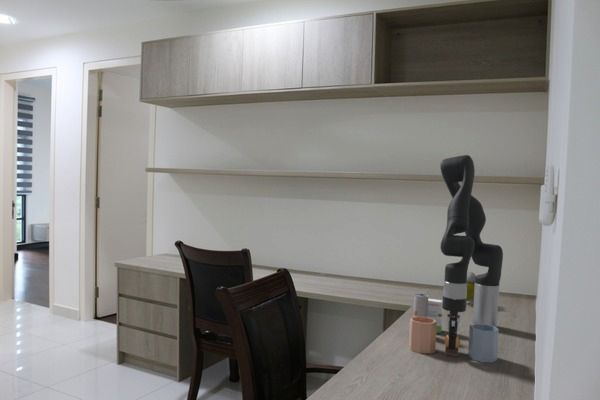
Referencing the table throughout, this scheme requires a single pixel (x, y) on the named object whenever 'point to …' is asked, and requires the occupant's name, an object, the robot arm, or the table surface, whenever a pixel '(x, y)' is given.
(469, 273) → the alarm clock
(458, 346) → the orange ball
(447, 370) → the table surface
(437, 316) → the ink box
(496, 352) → the tube slate
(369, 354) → the table surface
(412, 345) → the tube terracotta
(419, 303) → the beverage can
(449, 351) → the brown square tube
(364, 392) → the table surface
